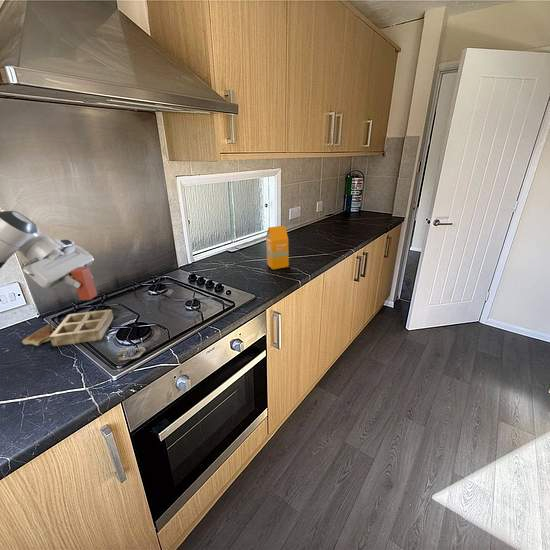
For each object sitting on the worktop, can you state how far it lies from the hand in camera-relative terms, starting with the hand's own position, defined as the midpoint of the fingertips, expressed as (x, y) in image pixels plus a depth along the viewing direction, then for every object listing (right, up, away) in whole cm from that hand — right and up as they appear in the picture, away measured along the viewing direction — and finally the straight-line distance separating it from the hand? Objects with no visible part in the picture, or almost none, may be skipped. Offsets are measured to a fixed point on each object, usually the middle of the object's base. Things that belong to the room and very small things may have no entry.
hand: (85, 282), depth 94 cm
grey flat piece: (+19, -21, -8) cm, 29 cm away
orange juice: (+62, +7, +54) cm, 82 cm away
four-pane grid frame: (-3, -16, +4) cm, 17 cm away
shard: (-16, -18, +1) cm, 24 cm away
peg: (0, -5, +2) cm, 5 cm away
